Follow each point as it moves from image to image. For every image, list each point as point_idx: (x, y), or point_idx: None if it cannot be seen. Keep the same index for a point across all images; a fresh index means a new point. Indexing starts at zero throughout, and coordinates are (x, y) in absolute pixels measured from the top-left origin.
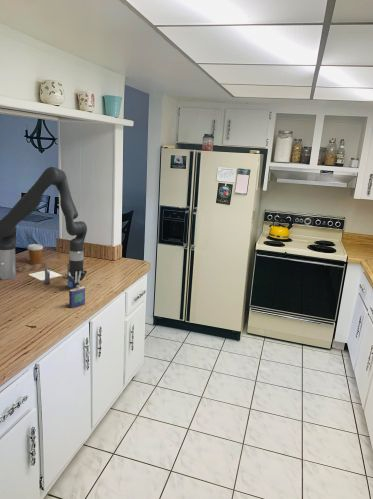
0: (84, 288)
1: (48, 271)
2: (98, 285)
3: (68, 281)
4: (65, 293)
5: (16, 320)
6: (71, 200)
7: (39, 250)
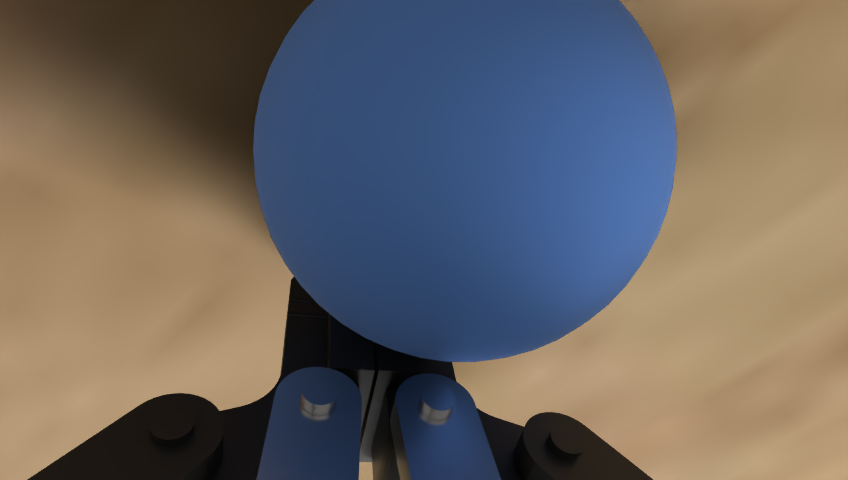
0: None
1: None
2: (817, 360)
3: (267, 154)
4: (12, 253)
5: None
6: None
7: None
